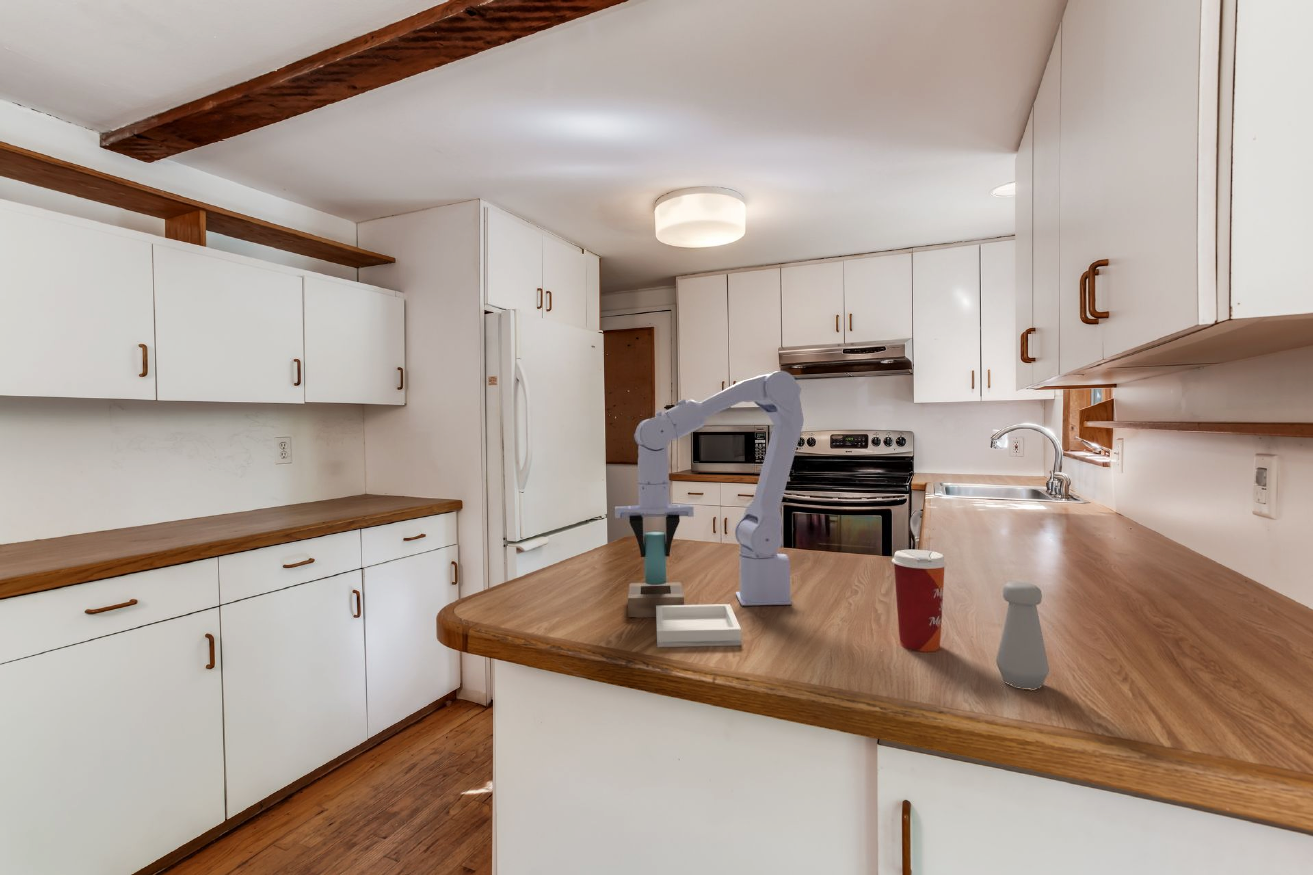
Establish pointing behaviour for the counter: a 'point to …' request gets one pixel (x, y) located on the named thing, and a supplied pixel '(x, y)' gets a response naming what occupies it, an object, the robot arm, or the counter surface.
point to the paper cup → (919, 598)
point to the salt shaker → (1022, 638)
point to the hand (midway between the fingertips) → (655, 555)
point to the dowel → (655, 558)
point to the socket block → (652, 598)
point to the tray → (697, 625)
